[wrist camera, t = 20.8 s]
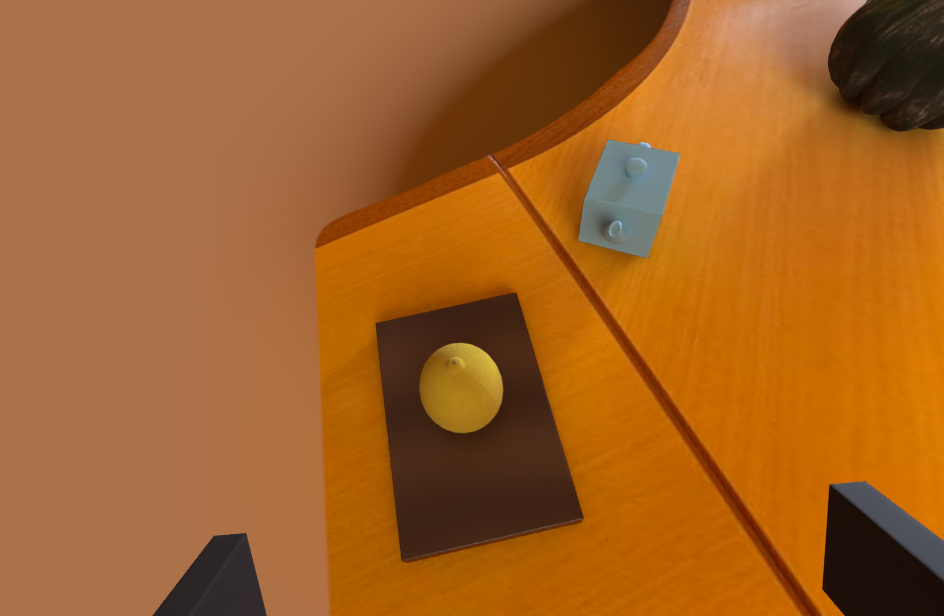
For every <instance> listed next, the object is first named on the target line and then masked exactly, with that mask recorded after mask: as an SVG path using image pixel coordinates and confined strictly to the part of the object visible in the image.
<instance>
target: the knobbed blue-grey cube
mask: <svg viewBox="0 0 944 616" xmlns="http://www.w3.org/2000/svg"><path fill="white" fill-rule="evenodd" d="M679 157H680V153H675V152H669V151H665V150H660V149H655V148H650V145H649V144H647V143H639V144H638V145H634V144H629V143H624V142H618V141H613V140H608V141H607V143H606V146H605V148H604V151H603V153H602V156H601V158H600V161H599V163H598V166H597V168H596V171H595V173H594V176H593V178H592V181H591V183H590V186H589V188H588V191H587V193H586V196H585V199H584V206H583V213H582V219H581V226H580V233H579V240H578V241H582V242H586V243H589V244H593V245H597V246H601V247H605V248H609V249H613V250H617V251H621V252H625V253H629V254H633V255H636V256H640V257H644V258H648V255H649V252H650V249H651V246H652V244H653V241H654V238H655V235H656V232H657V229H658V227H659V224H660V221H661V218H662V215H663V212H664V208H665V205H666V201H667V198H668V195H669V191H670V188H671V184H672V181H673V177H674V174H675V171H676V167H677V164H678V160H679Z"/></svg>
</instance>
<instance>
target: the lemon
mask: <svg viewBox="0 0 944 616" xmlns="http://www.w3.org/2000/svg"><path fill="white" fill-rule="evenodd" d="M419 391H420V396H421V402H422V404H423V406H424V408H425V410H426V412H427V414H428V415H429V416H430V418H431V419H432V420H433V421H434V422H435V423H436V424H438V425H439V426H441V427H442V428H444V429H446V430H449V431H452V432H456V433H468V432H474V431H476V430H478V429H481V428H483V427H484V426H485V425H487V424H488V423H489V422H490V421H491V420H492V419H493V418H494V416H495V415H496V414H497V412H498V410H499V407H500V405H501V403H502V396H503V383H502V377H501V375H500V372H499V370H498V367H497V365H496V364H495V362H494V361H493V360H492V359H491V357H490V356H489V355H488V354H487V353H485V352H484V351H483V350H481V349H480V348H478V347H476V346H473V345H471V344H466V343H453V344H449V345H446V346H444V347H442V348H440V349H438V350H437V351H435V352H434V353H433V354H432V355H431V356H430V357H429V359H428V360H427V362H426V363H425V365H424V367H423V370H422V372H421V376H420V384H419Z"/></svg>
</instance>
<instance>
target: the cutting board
mask: <svg viewBox="0 0 944 616" xmlns="http://www.w3.org/2000/svg"><path fill="white" fill-rule="evenodd" d="M376 332H377V341H378V350H379V359H380V368H381V377H382V387H383V396H384V405H385V414H386V423H387V432H388V441H389V450H390V459H391V469H392V478H393V487H394V496H395V505H396V514H397V523H398V532H399V541H400V550H401V560H402V561H404V562H406V563H408V562H413V561H417V560H421V559H426V558H430V557H434V556H438V555H443V554H447V553H451V552H456V551H460V550H464V549H469V548H473V547H477V546H482V545H486V544H490V543H494V542H499V541H503V540H507V539H512V538H516V537H520V536H525V535H529V534H533V533H538V532H542V531H546V530H550V529H555V528H559V527H563V526H568V525H572V524H576V523H581V522H582V520H583V519H584V517H583V514H582V511H581V507H580V504H579V501H578V497H577V494H576V491H575V487H574V484H573V481H572V477H571V474H570V471H569V467H568V464H567V460H566V457H565V454H564V450H563V447H562V444H561V440H560V437H559V434H558V430H557V427H556V424H555V420H554V417H553V414H552V410H551V407H550V404H549V400H548V397H547V394H546V390H545V387H544V384H543V380H542V377H541V373H540V370H539V367H538V363H537V360H536V357H535V353H534V350H533V347H532V343H531V340H530V337H529V333H528V330H527V327H526V323H525V320H524V317H523V313H522V310H521V307H520V303H519V300H518V297H517V293H511V294H507V295H502V296H498V297H493V298H489V299H484V300H479V301H475V302H470V303H466V304H461V305H457V306H452V307H447V308H443V309H438V310H434V311H429V312H425V313H420V314H415V315H411V316H406V317H402V318H397V319H393V320H388V321H383V322H379V323H376ZM453 343H466V344H471V345H473V346H476V347H478V348H480V349H481V350H483V351H484V352H485V353H487V354H488V355H489V356H490V357H491V359H492V360H493V361H494V362H495V364H496V365H497V367H498V370H499V372H500V375H501V377H502V383H503V396H502V403H501V405H500V407H499V410H498V412H497V414H496V415H495V416H494V418H493V419H492V420H491V421H490V422H489V423H488V424H487V425H485V426H484V427H483V428H481V429H478V430H476V431H474V432H468V433H456V432H452V431H449V430H446V429H444V428H442V427H441V426H439V425H438V424H436V423H435V422H434V421H433V420H432V419H431V418H430V416H429V415H428V414H427V412H426V410H425V408H424V406H423V404H422V402H421V396H420V391H419V384H420V376H421V372H422V370H423V367H424V365H425V363H426V362H427V360H428V359H429V357H430V356H431V355H432V354H433V353H434V352H435V351H437V350H438V349H440V348H442V347H444V346H446V345H449V344H453Z"/></svg>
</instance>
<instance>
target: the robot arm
mask: <svg viewBox="0 0 944 616" xmlns="http://www.w3.org/2000/svg"><path fill="white" fill-rule="evenodd" d="M822 589H823V591H824V592H825V593H826V594H827V595H828V597H829V598H830V599H831V600H832V601H833V602H834V604H835V605H836V606H837V607H838V608H839V609H840V611H841V612H842V613H843V614H844V615H845V616H944V541H943V540H942V539H940V538H939V537H938V536H936V535H935V534H934V533H933V532H931V531H930V530H929V529H927V528H926V527H925V526H923V525H922V524H921V523H919V522H918V521H917V520H915V519H914V518H913V517H912V516H910V515H909V514H908V513H906V512H905V511H904V510H902V509H901V508H900V507H898V506H897V505H896V504H894V503H893V502H892V501H890V500H889V499H888V498H887V497H885V496H884V495H883V494H881V493H880V492H879V491H877V490H876V489H875V488H873V487H872V486H871V485H869V484H868V483H867V482H866V481H865V482H853V483H841V484H830V485H829V500H828V514H827V529H826V543H825V558H824V572H823V587H822ZM153 616H267V615H266V611H265V607H264V603H263V599H262V595H261V591H260V587H259V583H258V579H257V575H256V571H255V567H254V563H253V559H252V555H251V551H250V547H249V543H248V539H247V535H246V533H242V534H230V535H219V536H213V538H212V539H211V540H210V542H209V543H208V544H207V545H206V547H205V548H204V549H203V551H202V552H201V553H200V555H199V556H198V557H197V559H196V560H195V561H194V562H193V564H192V565H191V566H190V568H189V569H188V570H187V572H186V573H185V574H184V575H183V577H182V578H181V579H180V581H179V582H178V583H177V585H176V586H175V587H174V589H173V590H172V591H171V592H170V594H169V595H168V596H167V598H166V599H165V600H164V601H163V603H162V604H161V605H160V607H159V608H158V609H157V611H156V612H155V613H154V615H153Z"/></svg>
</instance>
